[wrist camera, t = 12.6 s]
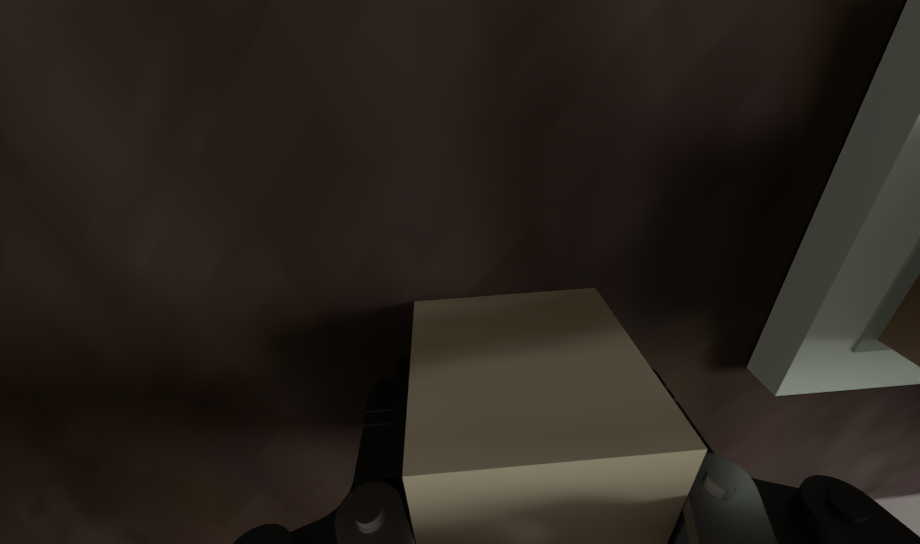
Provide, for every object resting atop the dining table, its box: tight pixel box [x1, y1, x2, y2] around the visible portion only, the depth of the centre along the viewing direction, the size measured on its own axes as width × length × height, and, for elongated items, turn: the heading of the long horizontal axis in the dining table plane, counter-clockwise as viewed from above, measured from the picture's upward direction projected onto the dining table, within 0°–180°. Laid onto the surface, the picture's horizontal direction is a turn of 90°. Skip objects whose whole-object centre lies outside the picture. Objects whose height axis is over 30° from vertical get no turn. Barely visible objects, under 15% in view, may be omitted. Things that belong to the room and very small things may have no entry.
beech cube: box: [402, 288, 707, 544], centre depth 10 cm, size 5×5×5 cm
